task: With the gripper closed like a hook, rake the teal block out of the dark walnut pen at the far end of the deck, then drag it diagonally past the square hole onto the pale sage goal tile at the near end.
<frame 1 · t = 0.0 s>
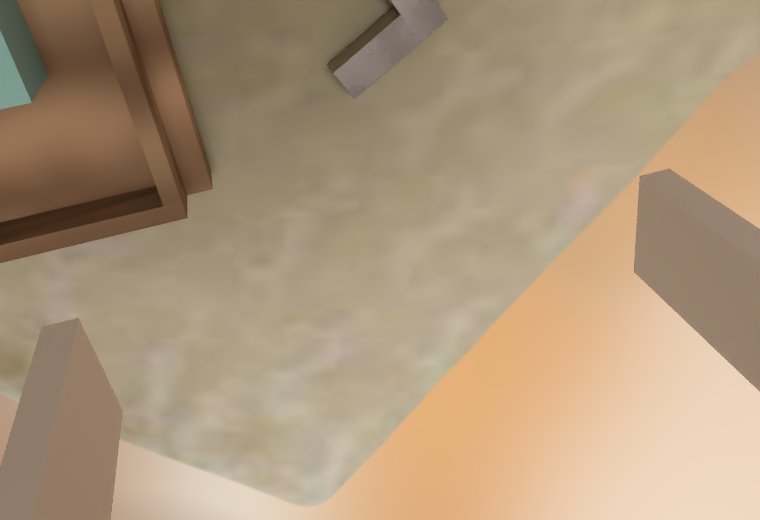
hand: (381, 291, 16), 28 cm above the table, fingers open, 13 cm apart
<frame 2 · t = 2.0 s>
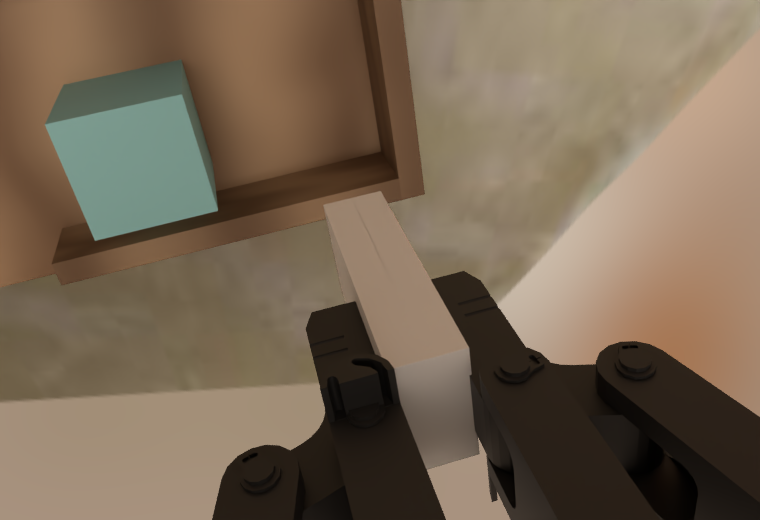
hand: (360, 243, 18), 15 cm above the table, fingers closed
teal block: (142, 126, 28), point 2 cm above the table, touching deck
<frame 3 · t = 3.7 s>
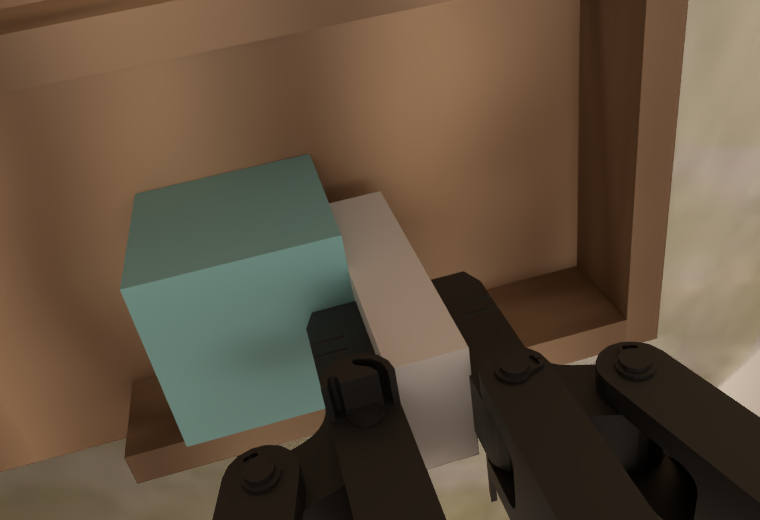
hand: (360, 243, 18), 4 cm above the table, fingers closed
teal block: (245, 247, 19), point 3 cm above the table, touching gripper
deck: (7, 211, 19), on the table
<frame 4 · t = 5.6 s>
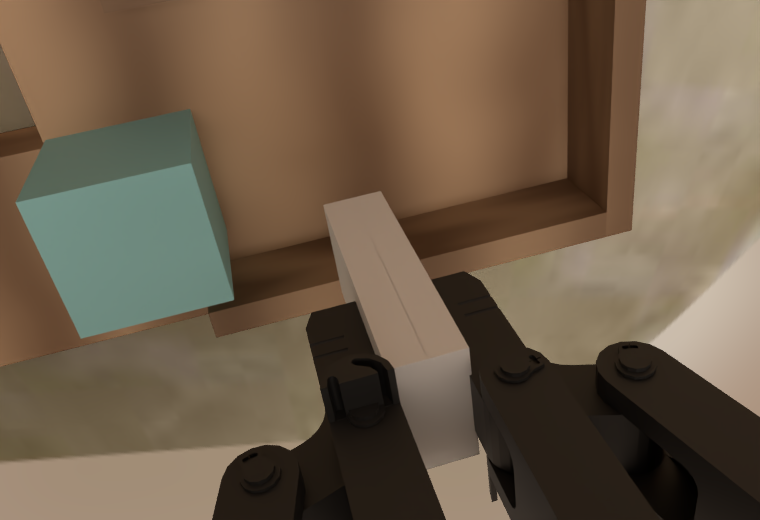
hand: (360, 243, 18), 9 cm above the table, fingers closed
teal block: (141, 188, 23), point 2 cm above the table, touching deck
deck: (107, 125, 24), on the table
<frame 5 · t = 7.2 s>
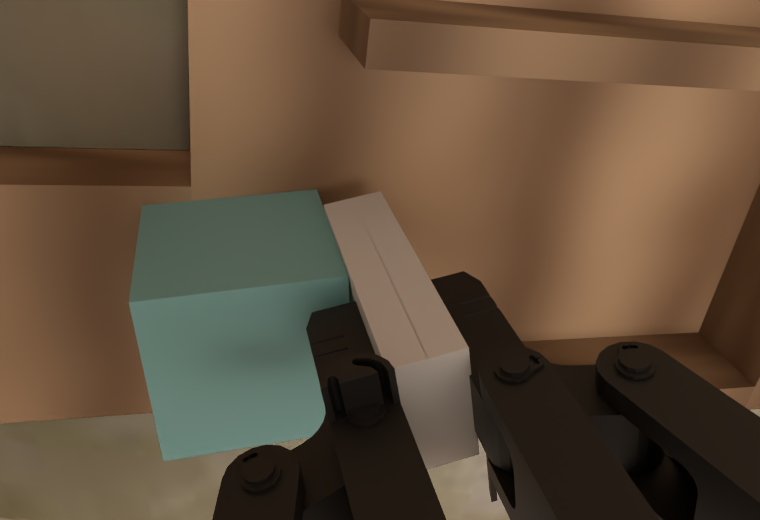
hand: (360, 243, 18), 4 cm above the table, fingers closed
teal block: (240, 270, 19), point 3 cm above the table, touching deck
deck: (243, 168, 20), on the table
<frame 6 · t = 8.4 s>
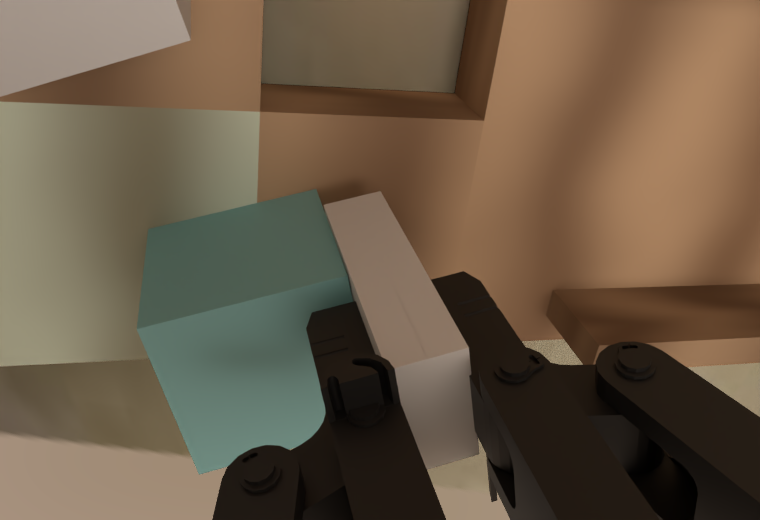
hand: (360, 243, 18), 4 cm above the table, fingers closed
teal block: (254, 278, 20), point 3 cm above the table, touching deck, gripper
deck: (497, 111, 21), on the table
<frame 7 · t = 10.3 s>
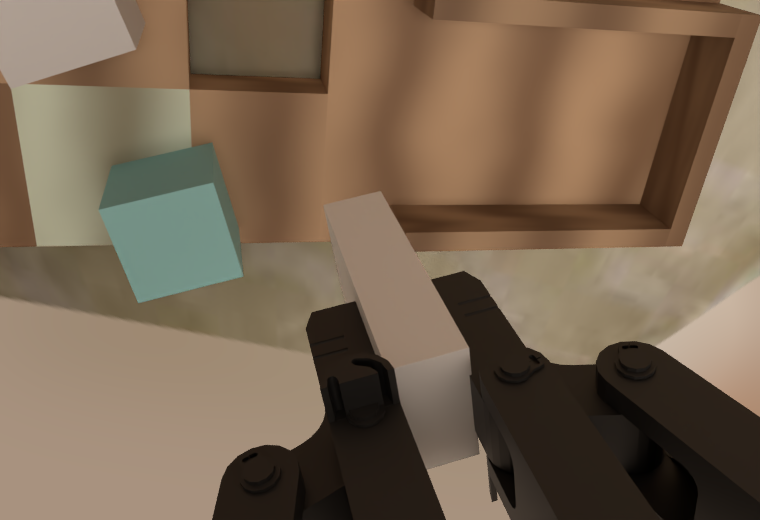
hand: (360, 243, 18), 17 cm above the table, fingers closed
teal block: (178, 198, 32), point 2 cm above the table, touching deck
deck: (350, 90, 34), on the table
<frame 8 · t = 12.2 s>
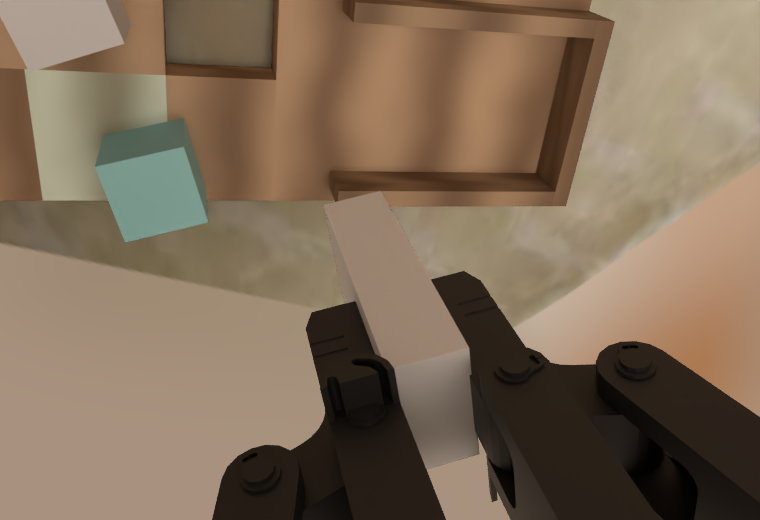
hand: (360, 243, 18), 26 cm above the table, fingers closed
teal block: (156, 163, 40), point 2 cm above the table, touching deck
deck: (296, 77, 42), on the table
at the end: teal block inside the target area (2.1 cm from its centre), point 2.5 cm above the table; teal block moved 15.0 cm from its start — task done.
